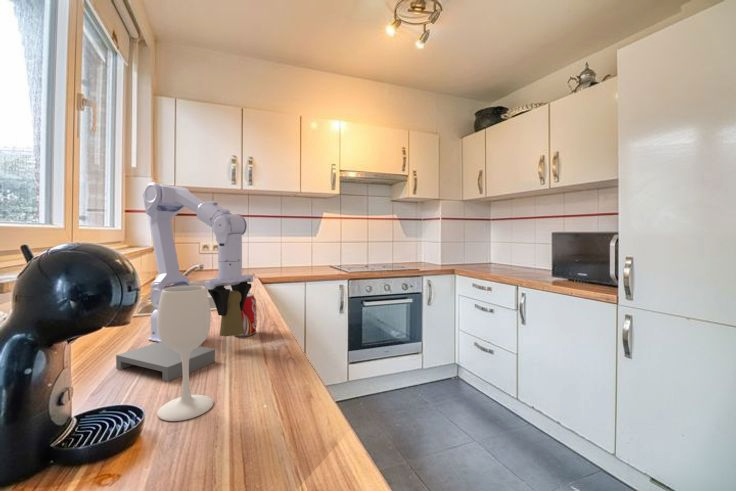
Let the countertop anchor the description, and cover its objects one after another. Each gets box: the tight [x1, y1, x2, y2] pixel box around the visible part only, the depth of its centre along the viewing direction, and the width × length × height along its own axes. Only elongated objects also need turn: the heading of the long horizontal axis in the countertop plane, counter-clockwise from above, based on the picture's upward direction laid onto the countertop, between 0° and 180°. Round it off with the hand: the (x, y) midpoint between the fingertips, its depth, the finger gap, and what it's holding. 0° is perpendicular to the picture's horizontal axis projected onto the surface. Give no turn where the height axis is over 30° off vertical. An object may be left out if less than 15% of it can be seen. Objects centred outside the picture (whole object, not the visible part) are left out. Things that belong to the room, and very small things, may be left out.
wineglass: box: [156, 285, 214, 422], centre depth 60 cm, size 9×9×21 cm
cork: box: [219, 290, 244, 337], centre depth 90 cm, size 6×6×11 cm
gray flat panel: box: [115, 341, 216, 383], centre depth 80 cm, size 17×12×3 cm
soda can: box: [235, 292, 258, 338], centre depth 105 cm, size 7×7×12 cm
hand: (230, 313), depth 91 cm, fingers closed on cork, 5 cm apart
